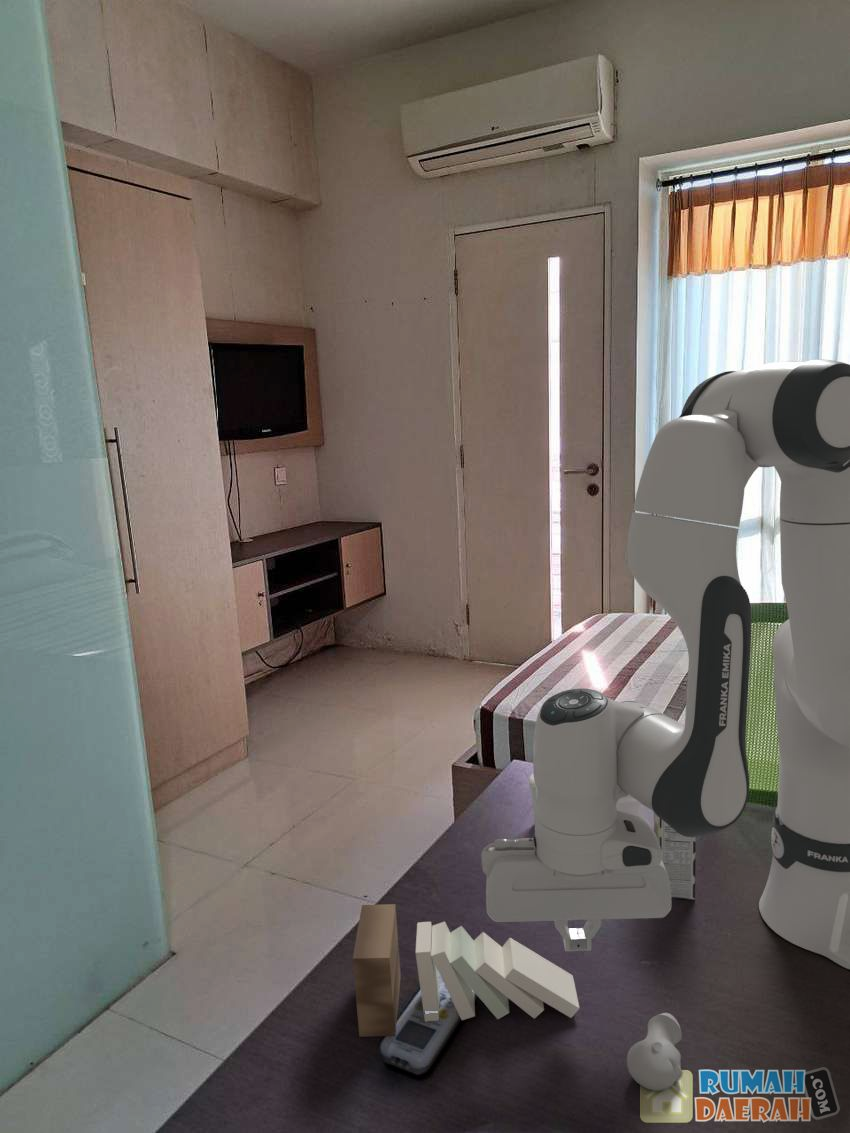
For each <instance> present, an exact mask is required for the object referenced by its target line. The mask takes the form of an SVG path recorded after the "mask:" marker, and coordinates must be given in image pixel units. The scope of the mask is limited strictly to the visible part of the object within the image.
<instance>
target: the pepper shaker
mask: <svg viewBox="0 0 850 1133" xmlns="http://www.w3.org/2000/svg"><path fill="white" fill-rule="evenodd" d="M642 806H643V804H641V803H640V802H638V801H637V800H635V799H634V798H632V797H631V796H629V795H628V796H626V797H622V798H620V799H619V800H618V801H617V804H616V808H617V811H620V812H624V813H628V814H631V815H635V816H639V817H643V816H642V811H643V810H642V809H643V808H642Z"/></svg>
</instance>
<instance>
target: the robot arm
mask: <svg viewBox="0 0 850 1133" xmlns="http://www.w3.org/2000/svg"><path fill="white" fill-rule="evenodd" d="M647 454H648V455H647V458H646V460H645V462H644V466H643V469H642V473H641V476H640V478H639V483H638V486H637V490H636V493H635V499H634V504H633V507H632V512H631V518H630V523H629V524H630V525H629V528H628V535H627V549H626V550H627V563H628V567H629V570H630V572H631V574H632V576H633V577H634V579H635V581H636V582H637V583H638V585H639V587H641V589H642V590H643V591H644V592H645V594H647V595H648V596H649V597H650V598H651V599H652V600H654V602H656V604H658V605H659V606H660V607H661V608H662V609H663V610H664V611H665V612H666V614H667V615H668V616H669V617H670V618H671V619H672V620H673V622H674V623H675V625H676V626H677V628H678V629H679V631H680V633H681V635H682V636H683V639H684V641H685V644H686V649H687V655H688V669H687V683H686V684H687V685H686V696H685V697H686V701H685V702H686V703H685V713H684V714H685V717H684V724H683V723H682V722H679V721H677V720H676V719H673V718H672V717H671V716H669V715H666V714H665V713H663V712H661V711H659V710H657V709H654V708H653V707H650V706H648V705H646V704H643V703H640V702H637V701H631V700H626V701H625V700H624V701H616V700H615V699H614V700H613V699H612V698H610V697H607V696H606V695H605V694H604V693H602V692H601V691H598V690H595V689H591V688H590V689H589V688H574V689H573V688H572V689H571V688H570V689H567V690H563V691H561V692H557V693H555V694H553V695H552V696H550V697H548V698H547V699H546V700H545V701H544V702H543V703H542V704H541V707H540V708H539V711H538V714H537V717H536V721H535V724H534V733H533V741H532V742H533V745H532V748H533V749H532V750H533V751H532V766H533V767H532V770H533V771H532V774H533V775H534V781H535V784H536V786H537V791H538V795H537V800H536V803H535V808H534V815H535V824H534V837H521V838H520V837H519V838H518V837H517V838H513V839H509V838H508V839H506V838H497V839H494V840H493V841H494V842H491V843H489V844H487V845H486V846H484V848H482V851H481V855H480V859H481V869H482V872H483V873H484V875H486V880H485V881H486V883H485V905H486V914H487V915H488V917H490V919H491V920H492V921H494V922H496V923H500V922H501V923H507V922H508V923H509V922H511V923H512V922H514V923H515V922H545V921H546V922H549V921H554V927H555V929H556V930H557V931H558V933H559V934H560V936H561V937H562V940H563V946H564V951H565V952H579V951H581V952H582V951H583V952H584V951H587V952H588V951H592V939H593V938H594V937H595V935H596V934H597V932H598V931H599V930H600V929H601V927H602V920H626V919H630V920H631V919H662V918H665V917H666V916H667V915H668V914H669V913H670V911H671V910H672V906H673V905H672V898H671V889H670V882H669V877H668V874H667V871H666V869H665V866H664V864H663V861H662V852H661V847H660V844H659V841H658V838H657V836H656V834H655V832H654V827H652V825H651V824H650V822H649V821H648V820H647V818H644V817H643V816H642V817H639V816H635V815H631V814H628V813H624V812H620V811H617V808H616V804H617V801H618V800H619V799H620V798H622V797H626V796H628V795H629V796H631V797H632V798H634V799H635V800H637V801H638V802H640V803H641V804H642V806H643V807H646V808H648V809H649V810H650V811H651V812H652V813H654V812H655V814H656V815H657V816H658V817H659V818H661V819H662V820H663V821H664V822H666V823H667V824H668V825H669V826H670V827H672V828H673V829H674V830H675V831H676V832H678V833H679V834H681V835H683V836H686V837H696V838H702V837H706V836H711V835H714V834H717V833H720V832H721V831H723V830H724V831H725V829H726V830H727V828H729V827H731V826H732V825H733V824H734V823H736V822H737V821H738V819H739V818H740V817H741V815H742V814H743V812H744V810H745V809H746V805H747V802H748V799H749V794H750V793H749V792H750V773H749V772H750V771H749V764H748V757H747V744H746V742H747V740H746V739H747V736H746V735H747V718H748V716H747V714H748V703H749V702H748V701H749V685H750V684H749V682H750V667H751V650H752V649H751V648H752V609H751V608H752V607H751V602H750V598H749V595H748V593H747V591H746V589H745V588H744V586H743V585H742V583H741V579H740V575H739V569H738V562H737V561H738V559H737V558H738V557H737V548H738V547H737V545H738V544H737V543H738V535H739V528H740V525H741V519H742V514H743V506H744V497H745V488H746V487H747V484H748V482H749V481H750V479H751V477H752V475H753V474H754V473H755V472H756V470H758V468H772V467H774V469H775V471H776V472H777V474H778V476H779V479H780V492H779V527H780V528H779V530H780V531H779V532H780V533H779V534H780V538H779V539H780V571H781V573H780V574H781V576H780V577H781V585H782V589H783V593H784V597H785V603H786V610H787V616H788V619H787V620H785V621H784V622H783V623H782V624H781V625H780V626H779V627H778V629H777V631H776V632H775V634H774V637H773V639H772V640H773V641H772V659H773V661H772V662H773V677H774V678H773V679H774V701H775V702H774V704H775V716H776V729H777V737H778V738H777V739H778V751H779V756H778V757H779V758H778V759H779V760H778V761H779V764H778V766H779V767H778V784H777V785H778V786H777V789H778V790H777V805H776V806H775V808H774V809H773V815H772V816H773V818H772V828H771V833H770V834H771V836H770V838H771V852H772V859H771V864H770V869H769V874H768V876H767V881H766V883H765V884H766V885H765V888H764V889H763V893H762V894H761V897H760V898H759V902H758V907H759V908H758V909H759V912H760V915H761V917H762V919H763V920H764V922H765V924H767V926H768V927H769V928H770V929H771V930H772V931H774V933H776V934H777V935H778V936H780V937H781V938H783V939H784V940H785V941H788V942H789V943H791V944H793V945H795V946H798V947H800V948H803V949H805V950H807V951H810V952H813V953H815V954H819V955H821V956H824V957H826V958H827V959H829V960H831V961H832V962H834V963H836V964H837V965H839V966H841V967H843V968H845V969H846V970H850V364H849V363H846V362H843V361H837V360H832V359H824V358H823V359H820V358H817V359H816V358H815V359H811V360H808V361H792V360H791V361H775V362H768V363H763V364H759V365H758V366H753V367H748V368H744V369H741V370H737V371H736V370H729V371H723V372H721V373H717V374H716V375H713V376H711V377H709V378H706V379H705V380H703V381H702V382H700V383H699V384H698V385H697V386H695V388H694V389H693V390H692V391H691V392H690V394H689V396H688V397H687V399H686V400H685V403H684V405H683V408H682V410H681V413H680V415H679V417H677V418H674V419H672V420H670V421H668V422H667V423H665V424H663V426H661V428H660V429H659V430H658V431H657V433H656V434H655V437H654V439H653V442H652V444H651V447H650V449H649V451H648V453H647ZM633 511H634V512H633ZM736 527H737V528H736ZM581 920H582V921H586V922H585V924H584V925H583V927H579V928H578V927H575V928H569V926H568V925H569V921H581Z"/></svg>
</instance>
